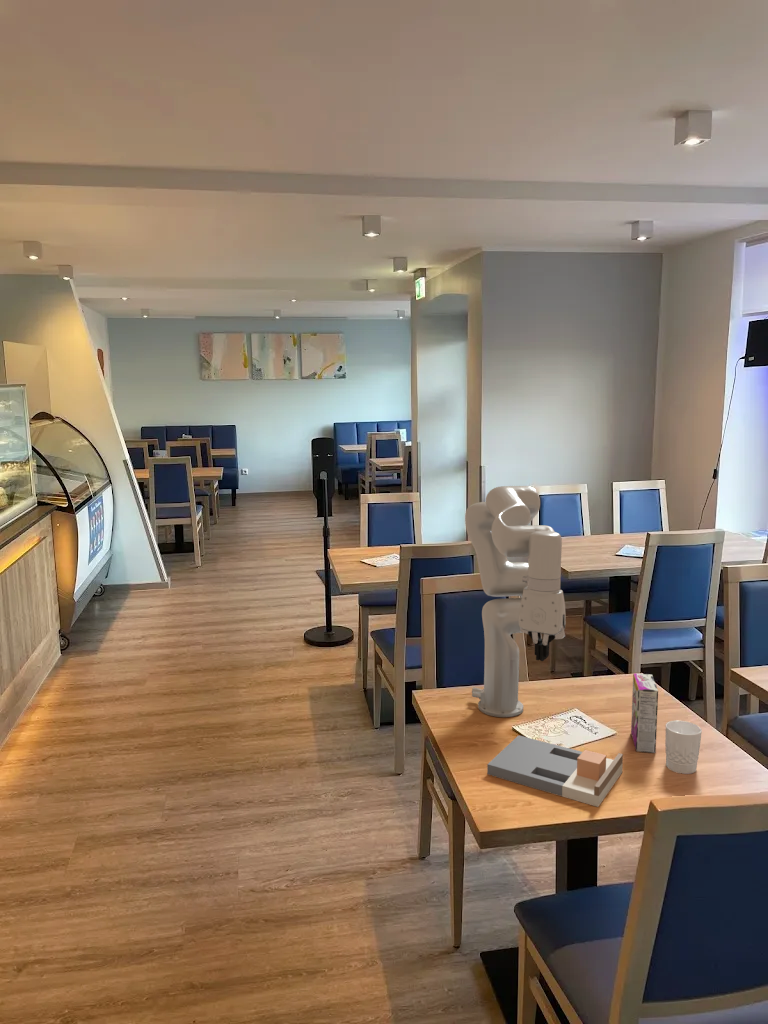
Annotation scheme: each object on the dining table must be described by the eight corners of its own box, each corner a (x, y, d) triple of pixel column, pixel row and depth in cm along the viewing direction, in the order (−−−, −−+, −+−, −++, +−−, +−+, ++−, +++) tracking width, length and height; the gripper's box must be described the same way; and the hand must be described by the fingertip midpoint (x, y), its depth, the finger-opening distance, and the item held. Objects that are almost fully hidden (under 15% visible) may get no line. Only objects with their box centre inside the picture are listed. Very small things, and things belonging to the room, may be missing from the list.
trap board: (487, 774, 175) (487, 756, 174) (518, 744, 190) (518, 727, 189) (598, 807, 161) (599, 787, 160) (622, 772, 176) (623, 754, 175)
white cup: (658, 759, 182) (660, 720, 180) (691, 759, 182) (694, 720, 180) (670, 775, 174) (672, 734, 173) (704, 775, 174) (707, 735, 172)
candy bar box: (629, 732, 196) (632, 672, 194) (649, 734, 195) (652, 673, 193) (634, 752, 186) (638, 688, 183) (656, 754, 185) (659, 690, 182)
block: (576, 775, 169) (577, 758, 169) (584, 765, 173) (584, 749, 173) (598, 781, 167) (599, 764, 166) (605, 771, 171) (606, 755, 170)
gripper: (507, 583, 177) (506, 657, 180) (569, 591, 169) (566, 670, 172) (520, 576, 183) (518, 649, 186) (580, 584, 175) (577, 660, 178)
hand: (541, 658), depth 179 cm, fingers closed
